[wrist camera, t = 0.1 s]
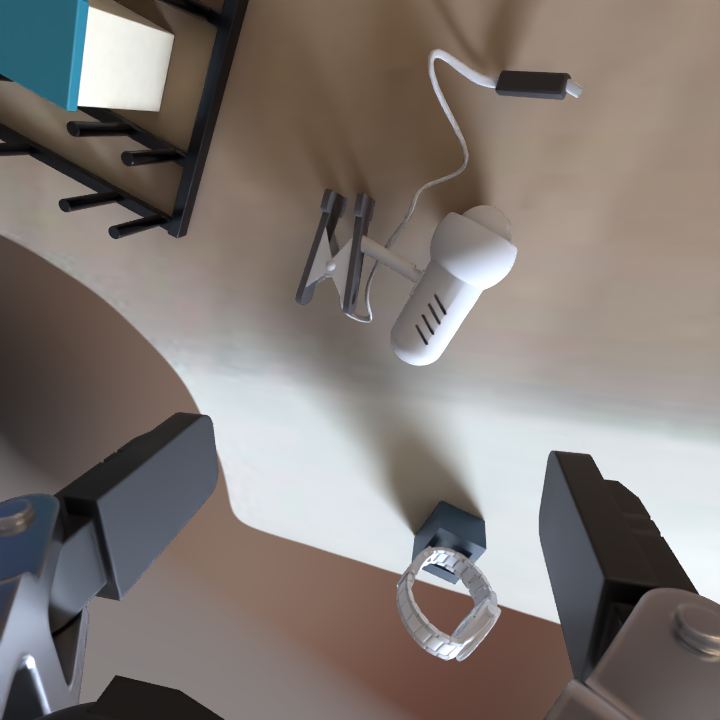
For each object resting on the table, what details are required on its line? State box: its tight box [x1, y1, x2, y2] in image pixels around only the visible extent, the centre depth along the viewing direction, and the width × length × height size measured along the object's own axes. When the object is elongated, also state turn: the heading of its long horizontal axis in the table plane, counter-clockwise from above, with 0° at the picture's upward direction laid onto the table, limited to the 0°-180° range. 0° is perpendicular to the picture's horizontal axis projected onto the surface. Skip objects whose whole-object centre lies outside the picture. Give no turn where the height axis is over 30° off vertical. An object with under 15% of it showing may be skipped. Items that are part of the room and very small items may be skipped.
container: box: [0, 0, 174, 112], centre depth 25 cm, size 5×10×8 cm, turn 64°
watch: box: [397, 501, 501, 662], centre depth 36 cm, size 6×8×11 cm
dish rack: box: [0, 0, 249, 239], centre depth 26 cm, size 19×18×6 cm
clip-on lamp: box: [296, 48, 584, 365], centre depth 26 cm, size 12×6×18 cm
